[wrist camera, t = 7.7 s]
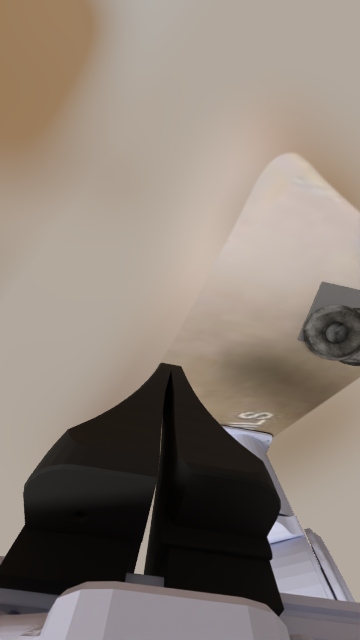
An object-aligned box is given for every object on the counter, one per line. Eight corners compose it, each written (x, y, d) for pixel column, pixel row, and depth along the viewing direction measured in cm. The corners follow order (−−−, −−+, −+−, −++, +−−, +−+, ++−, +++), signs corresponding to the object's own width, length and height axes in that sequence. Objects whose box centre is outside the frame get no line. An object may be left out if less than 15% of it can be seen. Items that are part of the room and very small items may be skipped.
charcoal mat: (350, 350, 21) (353, 351, 21) (297, 339, 21) (299, 340, 21) (380, 294, 19) (383, 295, 19) (321, 282, 19) (324, 282, 19)
